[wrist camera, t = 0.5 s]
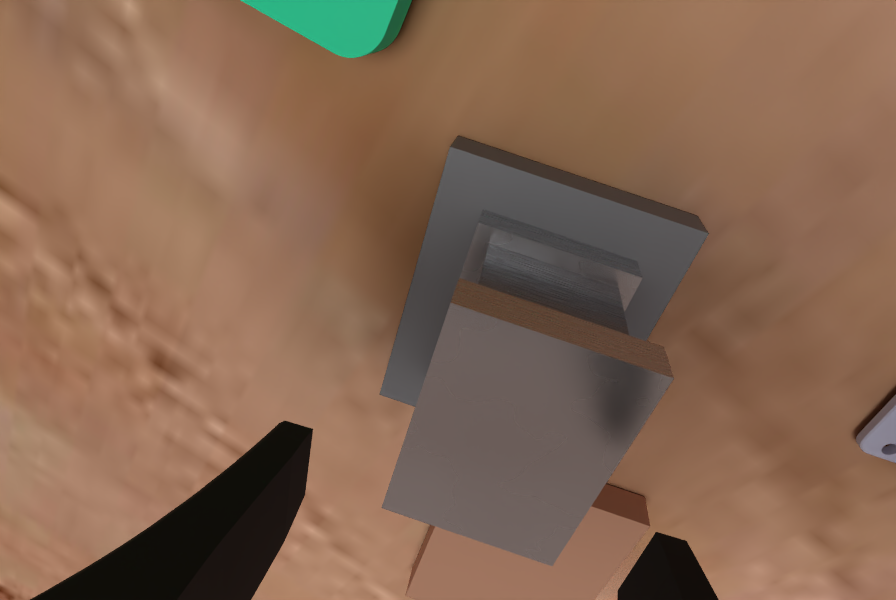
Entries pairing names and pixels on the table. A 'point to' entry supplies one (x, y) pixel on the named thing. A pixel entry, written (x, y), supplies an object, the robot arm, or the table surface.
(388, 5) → the camera mount
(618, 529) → the stand
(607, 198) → the stand
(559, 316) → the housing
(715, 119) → the table surface
